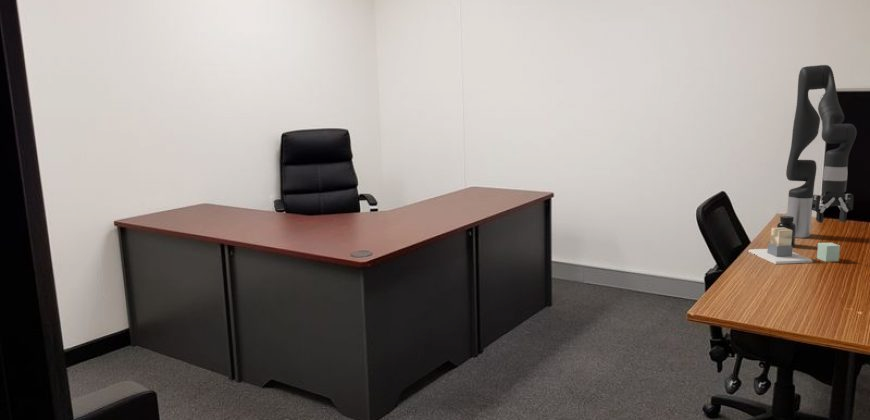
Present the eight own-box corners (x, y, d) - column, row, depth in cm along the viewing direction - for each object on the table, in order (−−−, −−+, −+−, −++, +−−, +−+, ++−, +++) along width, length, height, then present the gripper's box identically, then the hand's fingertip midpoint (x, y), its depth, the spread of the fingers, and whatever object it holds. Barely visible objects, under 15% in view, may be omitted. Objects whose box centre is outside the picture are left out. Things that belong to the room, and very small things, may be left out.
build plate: (748, 251, 245) (749, 239, 244) (782, 250, 246) (783, 238, 245) (775, 264, 227) (776, 250, 227) (812, 262, 228) (813, 249, 227)
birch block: (770, 243, 238) (771, 227, 237) (783, 242, 238) (784, 227, 237) (778, 246, 233) (779, 230, 232) (791, 245, 233) (792, 230, 232)
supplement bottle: (790, 243, 257) (792, 215, 255) (797, 247, 250) (800, 218, 248) (772, 243, 258) (774, 215, 255) (780, 247, 251) (782, 218, 249)
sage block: (816, 258, 234) (818, 242, 233) (829, 257, 234) (830, 242, 233) (825, 261, 229) (827, 246, 228) (838, 261, 229) (840, 245, 228)
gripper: (846, 176, 230) (842, 219, 233) (809, 178, 229) (805, 220, 232) (861, 179, 222) (856, 223, 225) (822, 180, 222) (818, 224, 225)
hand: (830, 222), depth 229 cm, fingers open, 8 cm apart
